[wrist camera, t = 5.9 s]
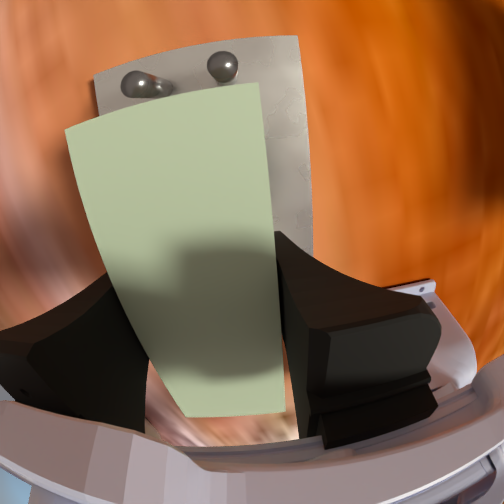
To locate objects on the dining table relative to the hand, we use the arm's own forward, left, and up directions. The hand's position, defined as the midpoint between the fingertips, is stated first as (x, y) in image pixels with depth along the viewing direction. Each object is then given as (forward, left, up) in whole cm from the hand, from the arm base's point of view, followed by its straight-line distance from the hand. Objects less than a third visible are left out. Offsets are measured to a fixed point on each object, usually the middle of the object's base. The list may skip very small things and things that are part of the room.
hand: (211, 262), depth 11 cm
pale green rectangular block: (0, 0, -3) cm, 3 cm away
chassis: (0, 0, -5) cm, 5 cm away
